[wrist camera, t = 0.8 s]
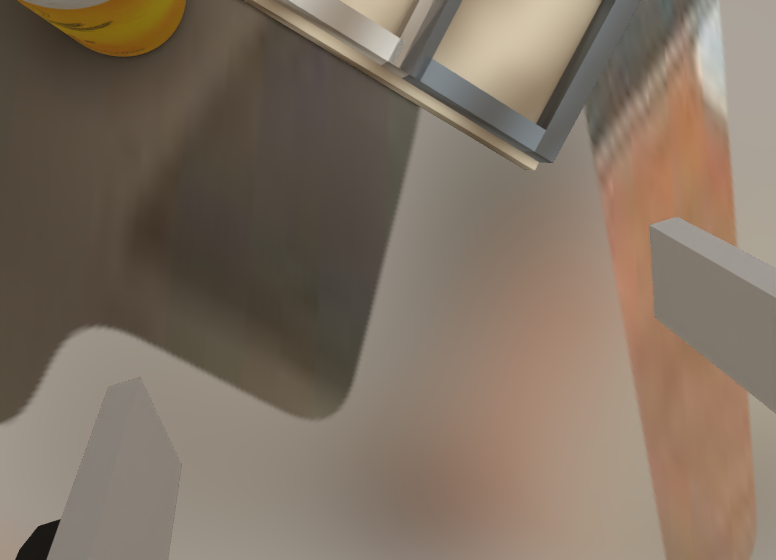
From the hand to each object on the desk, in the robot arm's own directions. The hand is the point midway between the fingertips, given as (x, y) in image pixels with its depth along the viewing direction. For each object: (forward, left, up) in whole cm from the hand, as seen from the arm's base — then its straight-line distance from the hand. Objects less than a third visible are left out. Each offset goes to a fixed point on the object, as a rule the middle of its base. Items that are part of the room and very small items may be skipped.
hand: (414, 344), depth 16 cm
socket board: (-1, +14, -19) cm, 24 cm away
